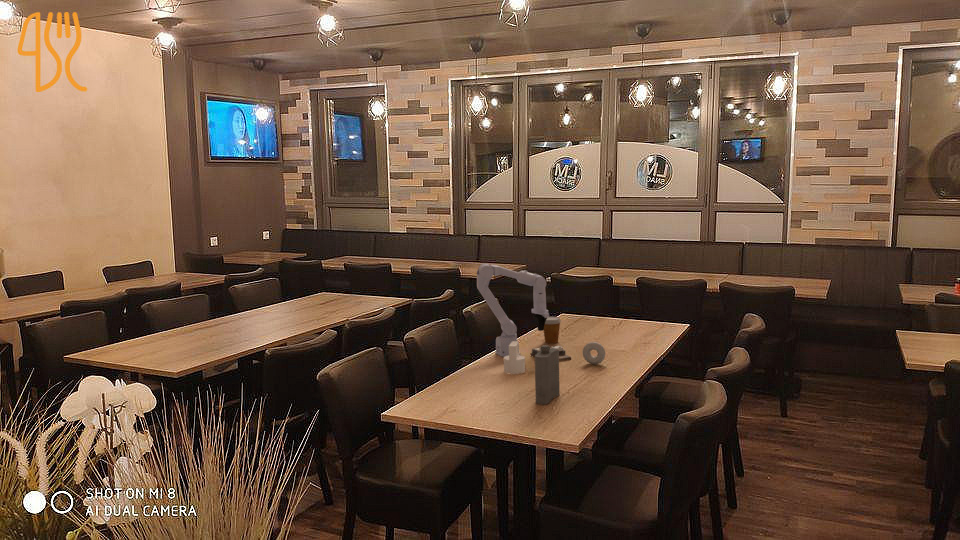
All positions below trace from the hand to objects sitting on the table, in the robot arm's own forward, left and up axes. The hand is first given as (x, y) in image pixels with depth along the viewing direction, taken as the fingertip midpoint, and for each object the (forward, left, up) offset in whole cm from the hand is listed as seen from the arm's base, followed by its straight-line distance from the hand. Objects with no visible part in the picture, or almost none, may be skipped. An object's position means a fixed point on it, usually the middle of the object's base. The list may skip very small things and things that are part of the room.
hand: (540, 330), depth 337 cm
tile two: (+3, -10, -8) cm, 13 cm away
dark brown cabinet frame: (-1, -11, -10) cm, 15 cm away
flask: (-29, -64, -11) cm, 71 cm away
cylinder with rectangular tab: (-24, -24, -11) cm, 36 cm away
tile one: (-3, -6, -9) cm, 11 cm away
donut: (+11, -30, -11) cm, 33 cm away
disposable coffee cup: (+14, +16, -11) cm, 24 cm away
